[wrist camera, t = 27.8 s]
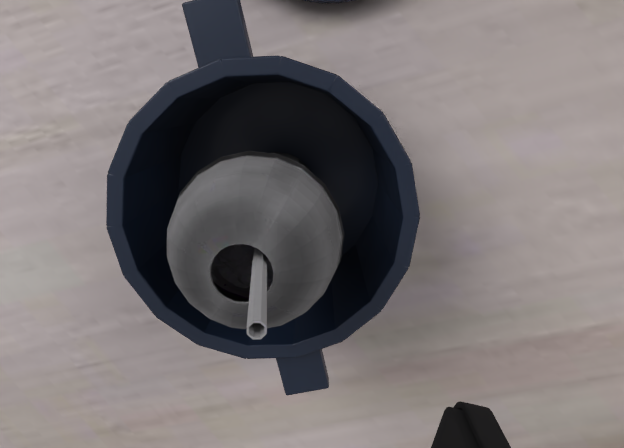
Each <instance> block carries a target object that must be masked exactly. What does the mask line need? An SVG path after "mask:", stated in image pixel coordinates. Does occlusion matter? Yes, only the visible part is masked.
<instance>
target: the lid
mask: <svg viewBox="0 0 624 448" xmlns="http://www.w3.org/2000/svg"><path fill="white" fill-rule="evenodd" d="M304 1H309V2H317V3H342V2H348V1H354V0H304Z"/></svg>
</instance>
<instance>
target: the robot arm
mask: <svg viewBox="0 0 624 448" xmlns="http://www.w3.org/2000/svg"><path fill="white" fill-rule="evenodd" d="M431 448H511V447H510V445H509V443H508V441H507V439H506V437H505V436H504V434H503V432H502V430H501V428H500V426H499V424H498V422H497V420H496V419H495V417H494V415H493V413H492V411H491V410H490V409H489V408H487V407H483V406H478V405H474V404H469V403H465V402H457V403H456V405H455V406H454V408H451V407H448V408H446V409H445V411H444V413H443V416H442V419H441V422H440V425H439V427H438V430H437V433H436V436H435V438H434V441H433V444H432V447H431Z"/></svg>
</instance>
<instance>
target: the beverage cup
mask: <svg viewBox="0 0 624 448" xmlns="http://www.w3.org/2000/svg"><path fill="white" fill-rule="evenodd" d="M343 240H344V230H343V226H342V221H341V216H340V211H339V207H338V206H337V204H336V202H335V201H334V199H333V197H332V195H331V194H330V192H329V190H328V188H327V187H326V185H325V184H324V183H323V182H322V181H321V180H320V179H319V178H317V177H316V176H315V175H314V174H313V173H312V172H311V171H310V169H309V168H308V166H307V165H305V164H304V163H303V162H302V161H301V160H300V159H299V158H297V157H295V156H293V155H290V154H288V153H280V152H272V153H265V152H255V151H246V152H242V153H237V154H232V155H228V156H223V157H220V158H219V159H217V160H215V161H214V162H212V163H210V164H209V165H207V166H205V167H204V168H202V169H200V170H199V171H197V173H196V174H195V175H194V176H193V177H192V179H191V180H190V181H189V182H188V183H187V185H186V186H185V187H184V188H183V189H182V191H181V192H180V194H179V197H178V200H177V203H176V205H175V208H174V211H173V213H172V216H171V219H170V222H169V225H168V228H167V259H168V263H169V266H170V269H171V272H172V275H173V278H174V281H175V284H176V285H177V286H178V288H179V289H180V291H181V292H182V293H183V295H184V296H185V298H186V299H187V301H188V302H189V303H190V304H191V305H192V306H193V307H195V308H196V309H197V310H199V311H200V312H201V313H202V314H204V315H205V316H206V317H208V318H209V319H211V320H213V321H216V322H218V323H221V324H223V325H226V326H228V327H231V328H239V329H247V335H248V336H249V337H250V338H251V339H253V340H254V339H262V338H263V337H264V336H265V335H266V334H267V328H271V327H276V326H281V325H283V324H285V323H287V322H289V321H291V320H293V319H295V318H297V317H298V316H300V315H302V314H304V313H305V312H307V311H308V310H309V309H310V308H311V307H312V305H313V304H314V303H315V302H316V301H317V300H318V299H319V298H320V297H321V296H322V295H323V294H324V293H325V291H326V289H327V287H328V285H329V283H330V281H331V279H332V277H333V275H334V273H335V271H336V269H337V267H338V265H339V263H340V261H341V256H342V248H343Z"/></svg>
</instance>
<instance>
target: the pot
mask: <svg viewBox="0 0 624 448" xmlns="http://www.w3.org/2000/svg"><path fill="white" fill-rule="evenodd" d="M182 7H183V11H184V14H185V18H186V22H187V26H188V29H189V33H190V37H191V41H192V44H193V48H194V52H195V56H196V59H197V63H198V67H199V68H197V69H195V70H193V71H190V72H188V73H186V74H184V75H181V76H179V77H177V78H175V79H172V80H170V81H169V82H167V83H166V84H165V85H164V86H163V87H162V88H161V89H160V90H159V91H158V92H157V93H156V94H155V95H154V96H153V97H152V98H151V99H150V100H149V101H148V102H147V103H146V104H145V105H144V106H143V107H142V108H141V109H140V110H139V111H138V112H137V113H136V114H135V116H134V117H133V118H132V119H131V120H130V121H129V123H128V124H127V126H126V129H125V131H124V134H123V136H122V139H121V141H120V143H119V146H118V148H117V151H116V153H115V156H114V158H113V161H112V163H111V166H110V168H109V170H108V175H107V230H108V233H109V236H110V239H111V242H112V244H113V247H114V250H115V253H116V256H117V259H118V262H119V264H120V267H121V270H122V273H123V275H124V276H125V278H126V279H127V281H128V282H129V283H130V285H131V286H132V287H133V288H134V290H135V291H136V292H137V293H138V295H139V296H140V297H141V298H142V300H143V301H144V302H145V304H146V305H147V306H148V307H149V309H150V310H151V311H152V312H153V314H154V315H155V316H156V317H157V318H158V319H160V320H161V321H163V322H164V323H166V324H167V325H169V326H170V327H172V328H173V329H175V330H176V331H178V332H179V333H181V334H182V335H184V336H185V337H187V338H188V339H190V340H191V341H193V342H194V343H196V344H198V345H200V346H203V347H207V348H210V349H214V350H217V351H221V352H224V353H228V354H231V355H234V356H238V357H241V358H245V359H246V358H248V359H256V358H276V360H277V363H278V367H279V371H280V375H281V378H282V382H283V386H284V390H285V393H286V395H292V394H297V393H303V392H309V391H314V390H320V389H326V388H328V387H329V378H328V373H327V369H326V365H325V360H324V356H323V352H322V348H325V347H328V346H331V345H334V344H337V343H339V342H342V341H343V340H345V339H346V338H348V337H349V336H350V335H351V334H353V333H354V332H355V331H356V330H358V329H359V328H360V327H362V326H363V325H364V324H365V323H367V322H368V321H369V320H370V319H372V318H373V317H374V316H375V315H377V314H378V313H379V312H381V310H382V309H383V308H384V306H385V305H386V303H387V302H388V300H389V298H390V297H391V295H392V294H393V292H394V290H395V289H396V287H397V286H398V284H399V283H400V281H401V279H402V278H403V276H404V275H405V273H406V271H407V270H408V267H409V266H410V262H411V257H412V252H413V247H414V243H415V238H416V233H417V228H418V224H419V219H420V217H419V216H420V213H419V206H418V200H417V193H416V187H415V181H414V174H413V168H412V163H411V161H410V159H409V157H408V155H407V153H406V152H405V150H404V148H403V146H402V145H401V143H400V141H399V139H398V138H397V136H396V134H395V132H394V131H393V129H392V127H391V125H390V124H389V122H388V120H387V118H386V117H385V115H384V114H383V112H382V111H381V110H380V109H378V108H377V107H376V106H375V105H373V104H372V103H371V102H370V101H369V100H367V99H366V98H365V97H364V96H363V95H361V94H360V93H359V92H358V91H357V90H355V89H354V88H353V87H352V86H350V85H349V84H348V83H347V82H346V81H344V80H343V79H342V78H341V77H340V76H337V75H336V74H333V73H330V72H327V71H324V70H321V69H319V68H316V67H313V66H310V65H307V64H304V63H301V62H298V61H295V60H292V59H289V58H286V57H283V56H281V57H280V56H260V57H253V54H252V50H251V45H250V41H249V37H248V32H247V28H246V24H245V20H244V15H243V11H242V7H241V3H240V0H193V1H189V2H185V3H183V4H182ZM246 151H255V152H265V153H272V152H280V153H288V154H290V155H293V156H295V157H297V158H299V159H300V160H301V161H302V162H303V163H304V164H305V165H307V166H308V168H309V169H310V171H311V172H312V173H313V174H314V175H315V176H316V177H317V178H319V179H320V180H321V181H322V182H323V183H324V184H325V185H326V187H327V188H328V190H329V192H330V194H331V195H332V197H333V199H334V201H335V202H336V204H337V206H338V207H339V211H340V216H341V221H342V226H343V230H344V240H343V248H342V256H341V261H340V263H339V265H338V267H337V269H336V271H335V273H334V275H333V277H332V279H331V281H330V283H329V285H328V287H327V289H326V291H325V293H324V294H323V295H322V296H321V297H320V298H319V299H318V300H317V301H316V302H315V303H314V304H313V305H312V307H311V308H310V309H309V310H308V311H307V312H305V313H304V314H302V315H300V316H298V317H297V318H295V319H293V320H291V321H289V322H287V323H285V324H283V325H281V326H276V327H271V328H267V334H266V335H265V336H264V337H263V338H262V339H254V340H253V339H251V338H250V337H249V336H248V335H247V329H239V328H231V327H228V326H226V325H223V324H221V323H218V322H216V321H213V320H211V319H209V318H208V317H206V316H205V315H204V314H202V313H201V312H200V311H199V310H197V309H196V308H195V307H193V306H192V305H191V304H190V303H189V302H188V301H187V299H186V298H185V296H184V295H183V293H182V292H181V291H180V289H179V288H178V286H177V285H176V284H175V281H174V278H173V275H172V272H171V269H170V266H169V263H168V259H167V228H168V225H169V222H170V219H171V216H172V213H173V211H174V208H175V205H176V203H177V200H178V197H179V194H180V192H181V191H182V189H183V188H184V187H185V186H186V185H187V183H188V182H189V181H190V180H191V179H192V177H193V176H194V175H195V174H196V173H197V171H199V170H200V169H202V168H204V167H205V166H207V165H209V164H210V163H212V162H214V161H215V160H217V159H219V158H220V157H223V156H228V155H232V154H237V153H242V152H246Z"/></svg>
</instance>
